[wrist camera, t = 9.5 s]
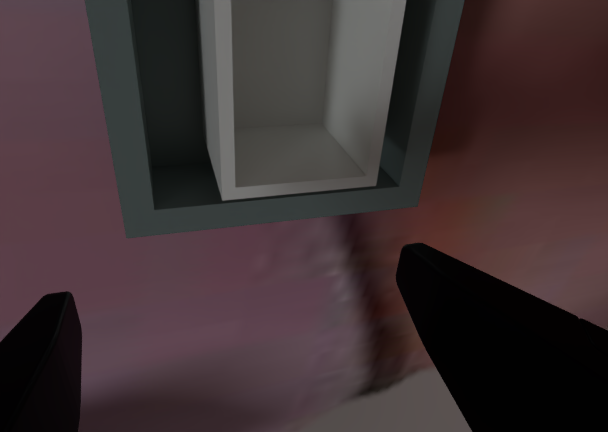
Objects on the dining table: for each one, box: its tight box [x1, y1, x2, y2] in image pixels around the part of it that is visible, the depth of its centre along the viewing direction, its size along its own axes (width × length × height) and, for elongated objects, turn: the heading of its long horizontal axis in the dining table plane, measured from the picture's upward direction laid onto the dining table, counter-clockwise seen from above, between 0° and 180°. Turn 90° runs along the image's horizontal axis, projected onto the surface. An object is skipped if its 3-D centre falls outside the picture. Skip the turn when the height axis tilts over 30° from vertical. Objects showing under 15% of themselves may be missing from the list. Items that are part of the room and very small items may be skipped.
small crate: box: [195, 0, 406, 201], centre depth 15 cm, size 6×5×5 cm
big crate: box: [85, 0, 465, 238], centre depth 16 cm, size 11×11×4 cm
